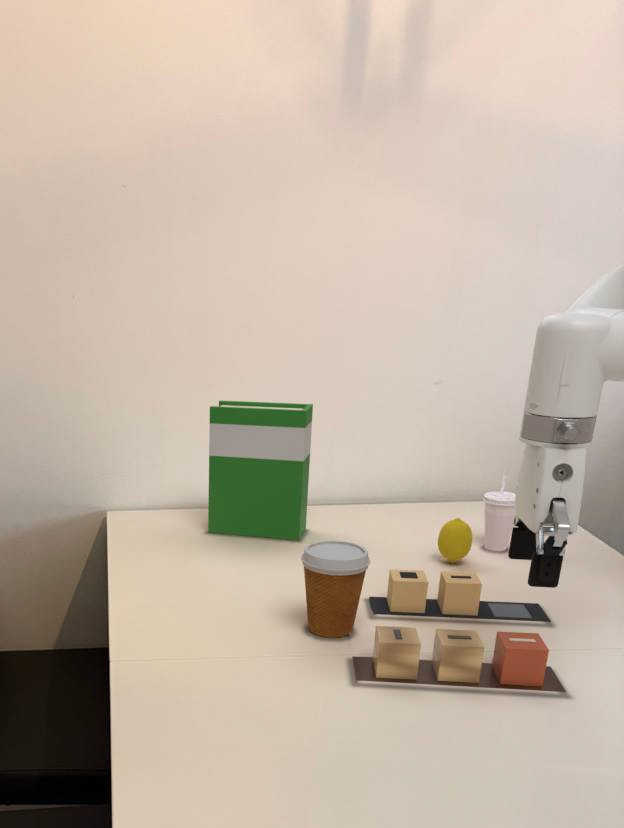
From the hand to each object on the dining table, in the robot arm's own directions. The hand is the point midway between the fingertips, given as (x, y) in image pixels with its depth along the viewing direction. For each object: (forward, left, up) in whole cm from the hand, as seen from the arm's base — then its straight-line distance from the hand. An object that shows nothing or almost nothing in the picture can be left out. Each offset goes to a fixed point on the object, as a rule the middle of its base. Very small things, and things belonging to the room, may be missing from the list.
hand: (531, 571), depth 104 cm
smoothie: (-9, -53, -15) cm, 56 cm away
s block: (0, 0, -14) cm, 14 cm away
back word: (+3, -22, -14) cm, 26 cm away
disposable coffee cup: (+22, -13, -15) cm, 30 cm away
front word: (+7, 0, -14) cm, 16 cm away
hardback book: (+34, -59, -15) cm, 70 cm away
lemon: (0, -44, -15) cm, 46 cm away
